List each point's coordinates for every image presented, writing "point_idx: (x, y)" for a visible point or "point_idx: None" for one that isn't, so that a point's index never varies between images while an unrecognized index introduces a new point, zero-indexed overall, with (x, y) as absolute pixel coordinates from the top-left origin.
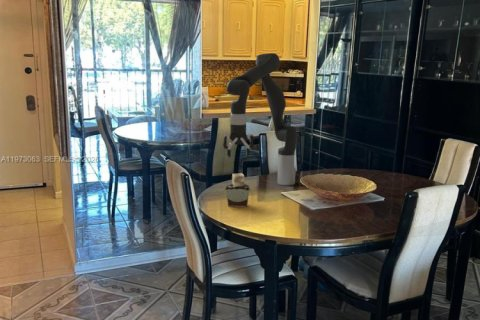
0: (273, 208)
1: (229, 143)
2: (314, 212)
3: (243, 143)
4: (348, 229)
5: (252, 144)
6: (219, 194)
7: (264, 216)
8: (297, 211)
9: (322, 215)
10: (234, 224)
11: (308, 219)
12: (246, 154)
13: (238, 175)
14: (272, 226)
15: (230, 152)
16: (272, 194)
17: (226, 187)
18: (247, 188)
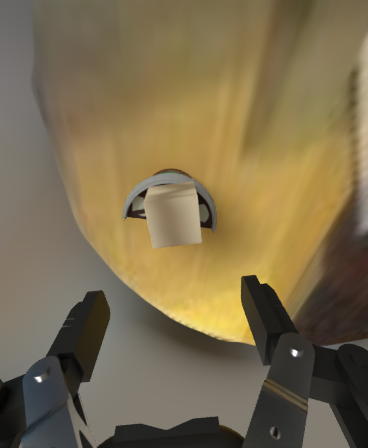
0: (267, 219)
1: (29, 439)
2: (353, 249)
3: (256, 408)
4: (359, 322)
5: (361, 424)
6: (101, 50)
7: (229, 267)
8: (318, 242)
9: (359, 266)
10: (159, 301)
11: (316, 284)
12: (245, 301)
13: (174, 232)
14: (232, 310)
15: (97, 353)
16: (317, 71)
17: (127, 214)
18: (206, 226)
